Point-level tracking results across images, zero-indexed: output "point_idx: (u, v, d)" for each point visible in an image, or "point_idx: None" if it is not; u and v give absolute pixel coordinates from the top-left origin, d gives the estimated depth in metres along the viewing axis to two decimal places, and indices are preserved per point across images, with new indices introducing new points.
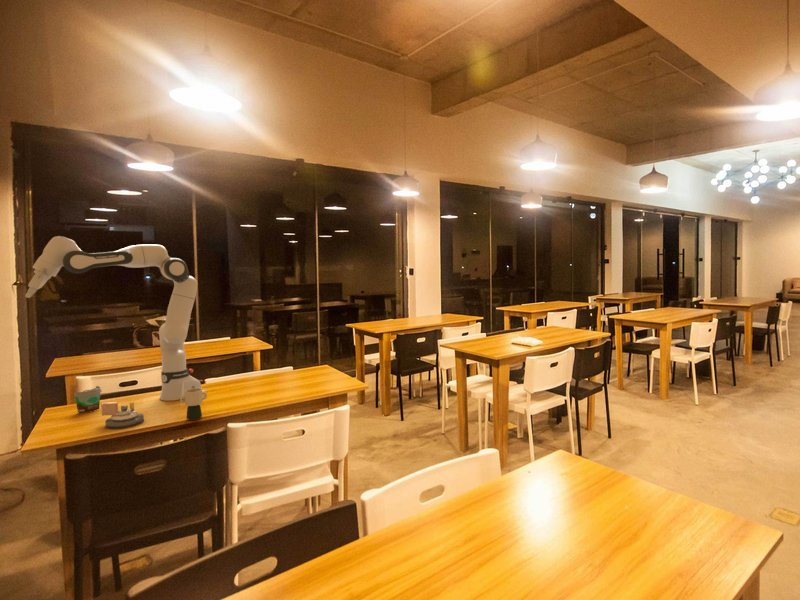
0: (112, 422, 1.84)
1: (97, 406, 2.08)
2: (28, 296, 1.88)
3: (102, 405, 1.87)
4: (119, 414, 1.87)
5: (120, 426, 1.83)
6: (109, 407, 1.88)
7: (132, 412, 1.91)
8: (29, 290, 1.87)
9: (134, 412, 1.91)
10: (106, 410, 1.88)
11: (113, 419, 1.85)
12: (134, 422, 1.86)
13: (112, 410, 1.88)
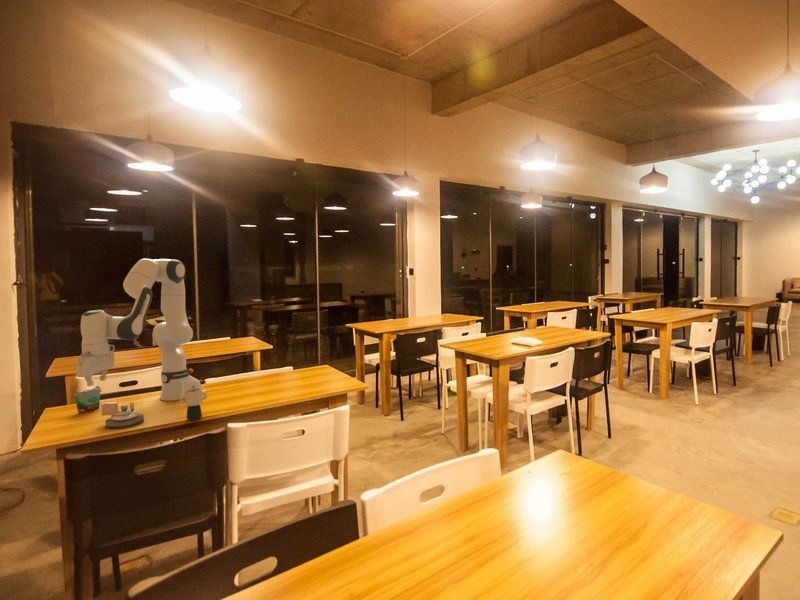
0: (112, 422, 1.84)
1: (97, 406, 2.08)
2: (90, 384, 1.77)
3: (102, 405, 1.87)
4: (119, 414, 1.87)
5: (120, 426, 1.83)
6: (109, 407, 1.88)
7: (132, 412, 1.91)
8: (86, 379, 1.75)
9: (134, 412, 1.91)
10: (106, 410, 1.88)
11: (113, 419, 1.85)
12: (134, 422, 1.86)
13: (112, 410, 1.88)
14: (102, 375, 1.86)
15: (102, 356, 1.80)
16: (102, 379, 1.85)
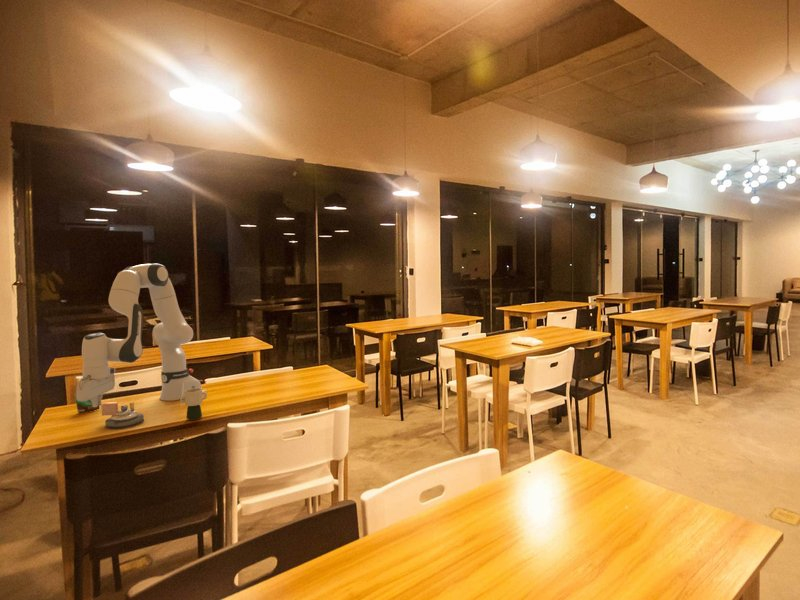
0: (112, 422, 1.84)
1: (97, 406, 2.08)
2: (95, 405, 1.80)
3: (102, 405, 1.87)
4: (119, 414, 1.87)
5: (120, 426, 1.83)
6: (109, 407, 1.88)
7: (132, 412, 1.91)
8: (91, 400, 1.79)
9: (134, 412, 1.91)
10: (106, 410, 1.88)
11: (113, 419, 1.85)
12: (134, 422, 1.86)
13: (112, 410, 1.88)
14: (97, 400, 1.82)
15: (102, 379, 1.81)
16: None
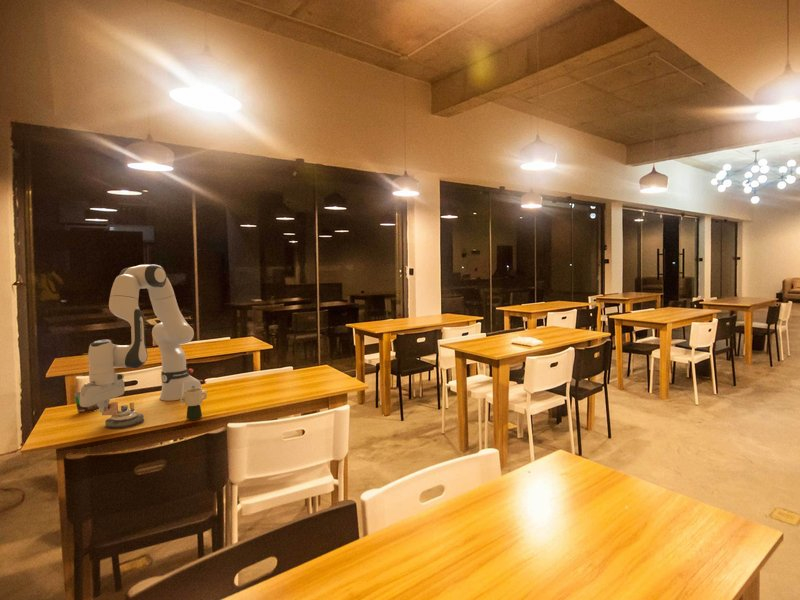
0: (112, 422, 1.84)
1: (97, 406, 2.08)
2: (101, 410, 1.85)
3: None
4: (119, 414, 1.87)
5: (120, 426, 1.83)
6: (109, 407, 1.88)
7: (132, 412, 1.91)
8: (98, 405, 1.84)
9: (134, 412, 1.91)
10: None
11: (113, 419, 1.85)
12: (134, 422, 1.86)
13: (112, 409, 1.88)
14: (104, 406, 1.86)
15: (107, 385, 1.84)
16: None
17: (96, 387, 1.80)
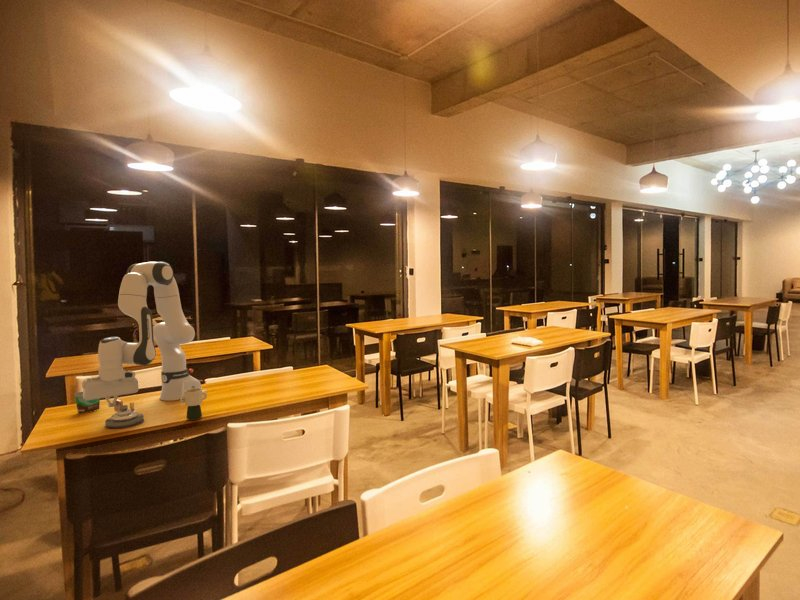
0: (112, 422, 1.84)
1: (97, 406, 2.08)
2: (109, 405, 1.90)
3: None
4: (117, 413, 1.88)
5: (120, 426, 1.83)
6: (117, 404, 1.92)
7: (132, 413, 1.90)
8: (106, 400, 1.90)
9: (133, 414, 1.89)
10: (116, 406, 1.93)
11: None
12: (134, 422, 1.86)
13: (118, 407, 1.91)
14: (112, 401, 1.92)
15: (111, 382, 1.88)
16: None
17: (98, 382, 1.86)
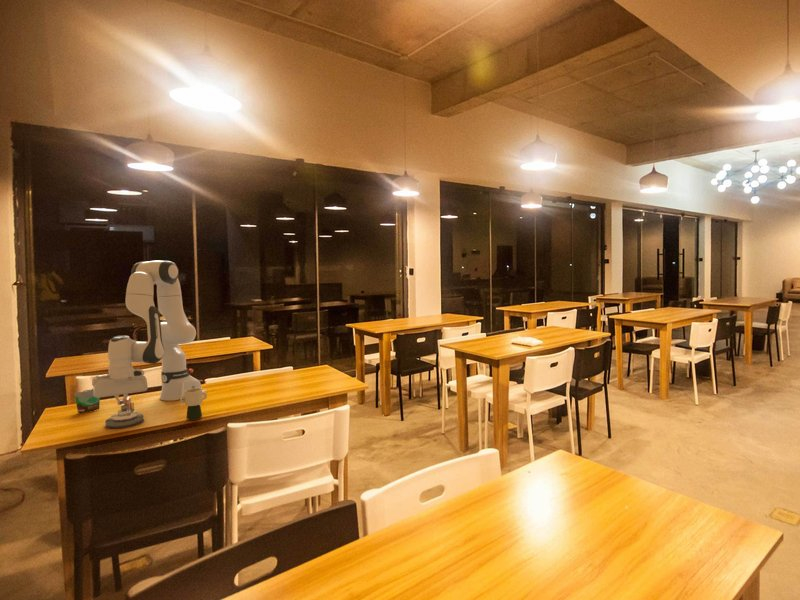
0: (112, 422, 1.84)
1: (97, 406, 2.08)
2: (118, 403, 1.93)
3: None
4: None
5: (120, 426, 1.83)
6: None
7: (129, 415, 1.88)
8: (115, 397, 1.93)
9: (129, 415, 1.87)
10: None
11: None
12: (134, 422, 1.86)
13: None
14: None
15: (120, 380, 1.91)
16: None
17: (108, 380, 1.89)
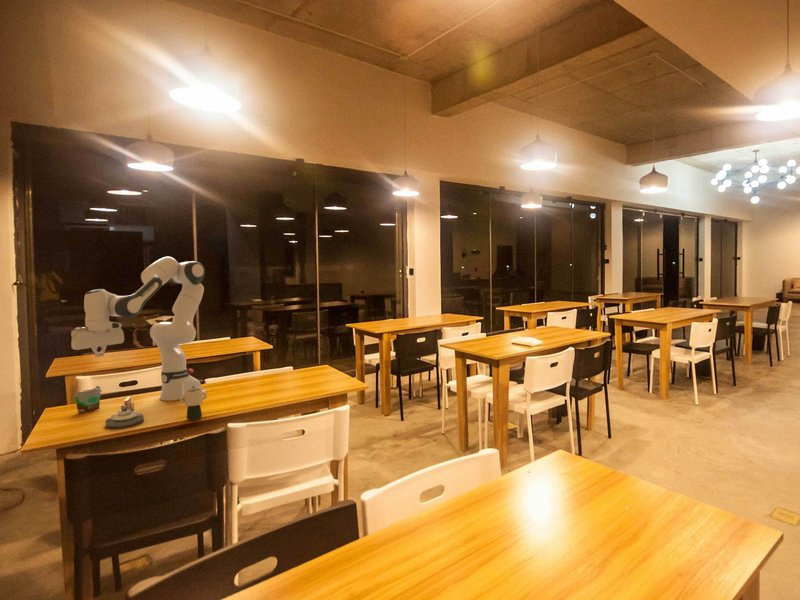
0: (112, 422, 1.84)
1: (97, 406, 2.08)
2: (96, 355, 1.96)
3: None
4: None
5: (120, 426, 1.83)
6: None
7: (129, 415, 1.88)
8: None
9: (128, 415, 1.87)
10: None
11: None
12: (134, 422, 1.86)
13: None
14: (101, 351, 1.98)
15: (100, 332, 1.94)
16: None
17: (87, 332, 1.91)
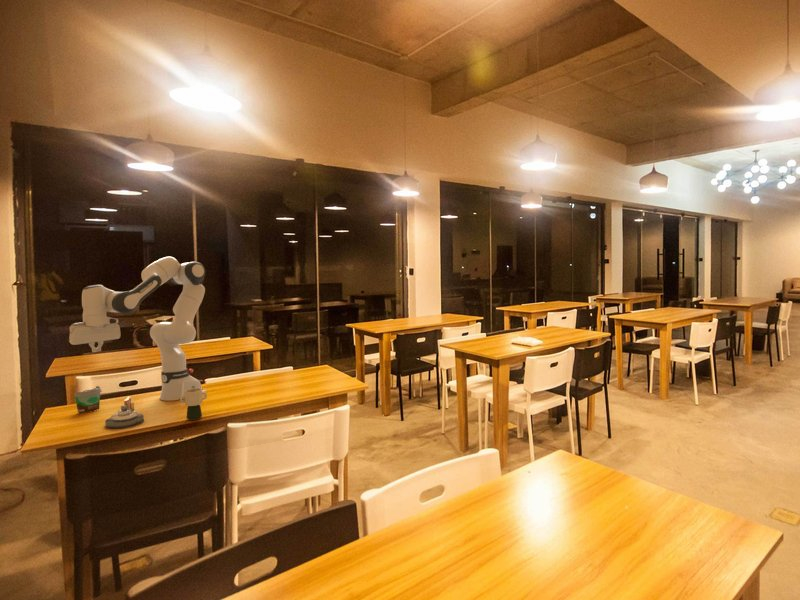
0: (112, 422, 1.84)
1: (97, 406, 2.08)
2: (93, 350, 1.97)
3: None
4: None
5: (120, 426, 1.83)
6: None
7: (129, 415, 1.88)
8: (90, 345, 1.96)
9: (128, 415, 1.87)
10: None
11: None
12: (134, 422, 1.86)
13: None
14: (98, 346, 1.99)
15: (98, 327, 1.96)
16: None
17: (85, 327, 1.92)
